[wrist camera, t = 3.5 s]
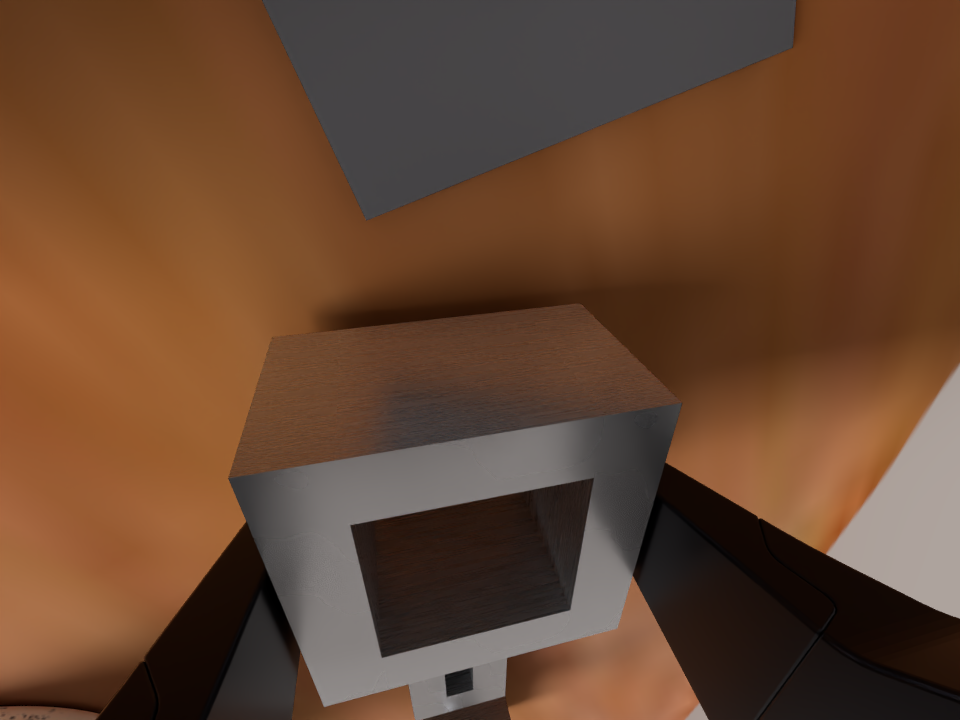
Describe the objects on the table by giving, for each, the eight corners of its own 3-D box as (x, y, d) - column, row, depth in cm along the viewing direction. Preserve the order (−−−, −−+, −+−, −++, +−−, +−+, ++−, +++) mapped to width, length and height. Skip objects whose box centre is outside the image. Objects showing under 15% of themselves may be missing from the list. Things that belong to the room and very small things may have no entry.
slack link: (486, 620, 16) (505, 696, 14) (407, 639, 16) (415, 721, 14) (486, 549, 14) (508, 627, 12) (395, 569, 13) (402, 653, 11)
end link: (555, 501, 13) (617, 628, 10) (331, 547, 11) (324, 706, 8) (580, 303, 9) (682, 402, 6) (272, 337, 8) (228, 478, 5)
